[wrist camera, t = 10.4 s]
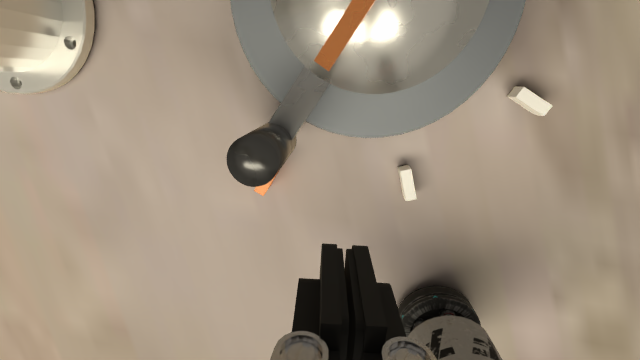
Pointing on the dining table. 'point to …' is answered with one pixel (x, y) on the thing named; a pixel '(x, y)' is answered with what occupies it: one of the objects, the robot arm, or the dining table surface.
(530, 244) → the dining table surface
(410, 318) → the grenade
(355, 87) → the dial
